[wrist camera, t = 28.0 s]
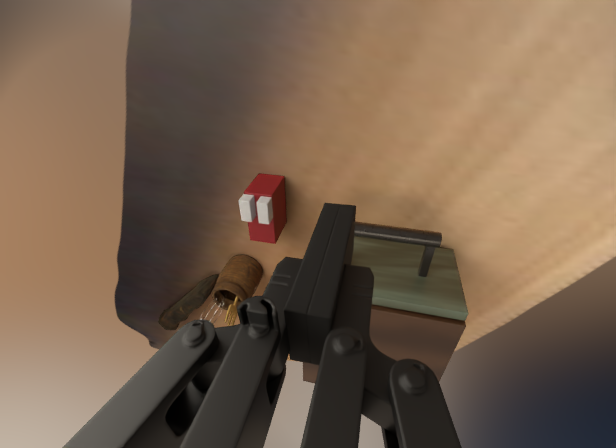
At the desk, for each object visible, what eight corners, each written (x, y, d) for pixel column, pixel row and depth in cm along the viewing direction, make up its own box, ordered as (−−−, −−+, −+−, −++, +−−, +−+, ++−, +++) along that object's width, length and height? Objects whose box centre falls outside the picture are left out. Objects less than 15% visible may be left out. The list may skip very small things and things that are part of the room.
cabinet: (320, 237, 42) (301, 296, 34) (450, 255, 39) (466, 326, 31) (318, 319, 53) (303, 380, 44) (420, 338, 50) (425, 409, 41)
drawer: (322, 193, 38) (302, 243, 30) (467, 210, 35) (488, 270, 27) (318, 316, 52) (304, 373, 44) (422, 336, 48) (427, 401, 41)
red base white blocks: (258, 173, 39) (238, 198, 34) (284, 176, 38) (267, 202, 33) (263, 218, 43) (245, 247, 38) (286, 221, 42) (271, 251, 37)
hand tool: (182, 318, 63) (169, 337, 59) (166, 306, 62) (152, 326, 58) (232, 282, 53) (220, 303, 49) (214, 268, 52) (200, 288, 48)
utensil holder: (222, 259, 50) (181, 318, 40) (250, 248, 47) (213, 310, 37) (243, 284, 52) (209, 345, 43) (272, 275, 49) (242, 339, 40)
